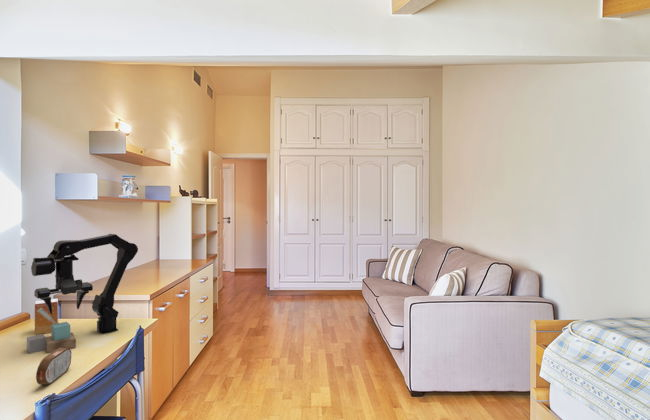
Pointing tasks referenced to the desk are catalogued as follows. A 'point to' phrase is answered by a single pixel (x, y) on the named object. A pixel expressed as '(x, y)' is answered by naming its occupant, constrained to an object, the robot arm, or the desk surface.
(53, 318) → the small box
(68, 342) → the walnut block
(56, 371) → the tin
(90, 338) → the desk surface
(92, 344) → the desk surface
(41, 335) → the grey cube
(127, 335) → the desk surface
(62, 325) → the teal cube
